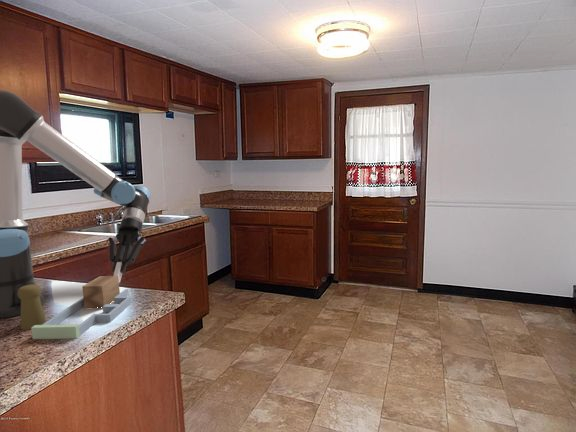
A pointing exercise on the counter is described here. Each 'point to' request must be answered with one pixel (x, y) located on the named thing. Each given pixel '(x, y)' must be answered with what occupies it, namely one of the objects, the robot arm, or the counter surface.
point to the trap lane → (75, 330)
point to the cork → (31, 307)
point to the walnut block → (100, 291)
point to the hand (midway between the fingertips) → (115, 281)
